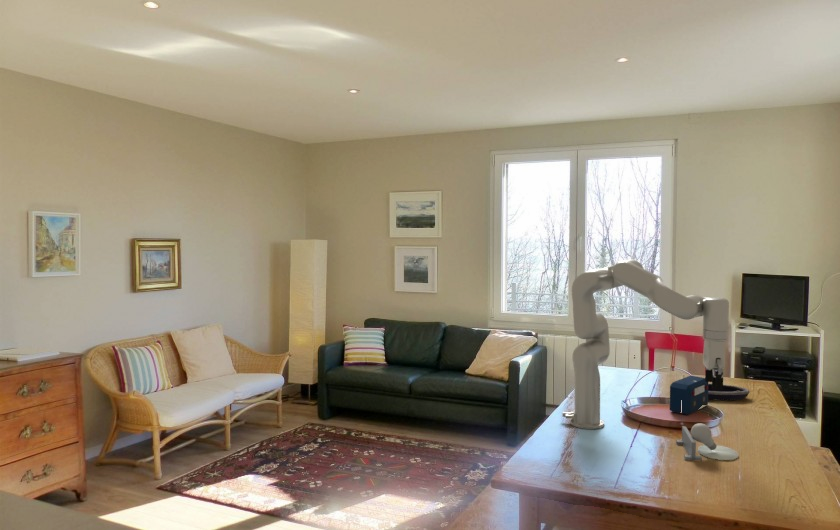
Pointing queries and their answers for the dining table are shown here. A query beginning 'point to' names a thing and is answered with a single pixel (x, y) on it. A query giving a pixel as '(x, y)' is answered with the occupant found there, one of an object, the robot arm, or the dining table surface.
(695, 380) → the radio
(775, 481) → the dining table surface
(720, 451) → the white round dome
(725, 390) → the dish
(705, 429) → the lightbulb
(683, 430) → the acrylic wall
